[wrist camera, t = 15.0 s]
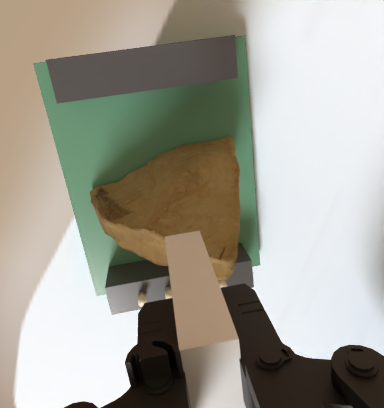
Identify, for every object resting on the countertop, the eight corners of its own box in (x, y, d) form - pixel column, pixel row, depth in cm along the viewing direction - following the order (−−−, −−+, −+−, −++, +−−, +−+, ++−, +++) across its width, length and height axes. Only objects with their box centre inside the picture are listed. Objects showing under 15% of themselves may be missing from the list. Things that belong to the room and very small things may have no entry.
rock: (72, 262, 25) (207, 291, 26) (41, 236, 17) (239, 279, 18) (112, 132, 28) (229, 161, 29) (102, 59, 20) (264, 102, 21)
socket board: (240, 37, 24) (264, 28, 20) (255, 258, 31) (276, 291, 26) (38, 63, 23) (11, 60, 18) (98, 287, 30) (90, 328, 25)
